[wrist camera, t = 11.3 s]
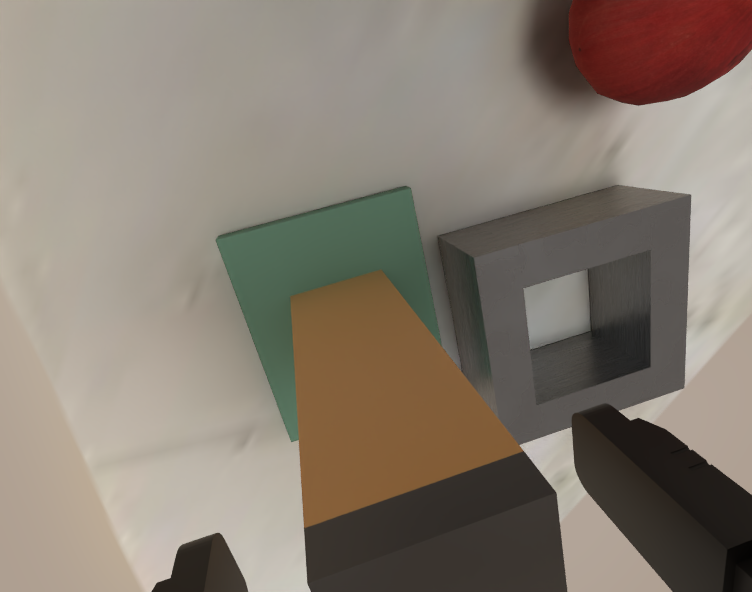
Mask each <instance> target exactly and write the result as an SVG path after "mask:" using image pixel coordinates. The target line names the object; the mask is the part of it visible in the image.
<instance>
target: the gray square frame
mask: <svg viewBox="0 0 752 592" xmlns="http://www.w3.org/2000/svg"><path fill="white" fill-rule="evenodd" d="M690 214H691V195H690V194H683V193H675V192H667V191H659V190H652V189H644V188H636V187H628V186H621V185H617V186H613V187H610V188H606V189H603V190H599V191H596V192H592V193H588V194H585V195H581V196H578V197H574V198H571V199H567V200H564V201H560V202H557V203H553V204H550V205H546V206H542V207H539V208H535V209H532V210H528V211H525V212H521V213H518V214H514V215H511V216H507V217H503V218H500V219H496V220H493V221H489V222H486V223H482V224H479V225H475V226H472V227H468V228H465V229H461V230H457V231H454V232H450V233H447V234H443V235H440V236H438V240H439V245H440V251H441V256H442V262H443V267H444V273H445V278H446V284H447V289H448V295H449V300H450V306H451V311H452V317H453V322H454V328H455V333H456V339H457V344H458V350H459V355H460V361H461V366H462V372H463V374H464V376H465V377H466V378H467V379H468V381H469V382H470V383H471V385H472V386H473V387H474V388H475V390H476V391H477V392H478V394H479V395H480V396H481V397H482V399H483V400H484V401H485V402H486V404H487V405H488V406H489V408H490V409H491V410H492V411H493V413H494V414H495V415H496V416H497V418H498V419H499V420H500V422H501V423H502V424H503V425H504V427H505V428H506V429H507V430H508V432H509V433H510V434H511V436H512V437H513V438H514V439H515V441H516V442H517V443H518V445H520V444H523V443H526V442H529V441H532V440H535V439H538V438H540V437H543V436H546V435H549V434H552V433H555V432H558V431H561V430H564V429H567V428H570V427H572V415H573V414H574V413H577V412H580V411H583V410H586V409H589V408H592V407H594V406H597V405H600V404H603V403H607V404H609V405H611V406H613V407H614V408H615V409H617V410H618V411H619V410H622V409H625V408H628V407H631V406H634V405H636V404H639V403H642V402H645V401H648V400H651V399H654V398H657V397H660V396H663V395H666V394H668V393H671V392H674V391H677V390H680V389H683V388H684V384H685V355H686V327H687V299H688V270H689V242H690ZM585 269H588V273H589V291H590V310H591V329H592V331H591V332H587V333H584V334H581V335H578V336H575V337H572V338H569V339H566V340H562V341H559V342H556V343H553V344H550V345H547V346H544V347H541V348H537V349H534V350H531V351H530V344H529V336H528V327H527V318H526V309H525V300H524V291H523V288H526V287H529V286H532V285H535V284H539V283H542V282H545V281H549V280H552V279H555V278H559V277H562V276H565V275H568V274H572V273H575V272H578V271H582V270H585Z"/></svg>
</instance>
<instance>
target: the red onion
mask: <svg viewBox="0 0 752 592" xmlns="http://www.w3.org/2000/svg"><path fill="white" fill-rule="evenodd" d="M569 43H570V47H571V50H572V54H573V57H574V61H575V64H576V67H577V68H578V69H579V71H580V72H581V73H582V75H583V76H584V77H585V78H586V80H587V81H588V82H589V84H590V85H591V86H592V87H593V89H594V90H595V91H596V92H597V94H600V95H603V96H605V97H608V98H611V99H614V100H616V101H619V102H622V103H627V104H633V105H645V104H651V103H657V102H663V101H669V100H673V99H677V98H681V97H685V96H687V95H689V94H691V93H693V92H695V91H697V90H699V89H701V88H703V87H705V86H706V85H708V84H710V83H711V82H713V81H715V80H716V79H718V78H720V77H721V76H723V75H725V74H726V73H728V72H729V71H730V70H731V69H733V68H734V67H735V66H736V65H738V64H739V63H740V62H741V61H742V60H743V59H744V58H745V56H746V55H747V54H748V53H749V52H750V51H751V50H752V0H573V1H572V4H571V7H570V10H569Z"/></svg>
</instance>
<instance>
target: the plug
mask: <svg viewBox="0 0 752 592" xmlns="http://www.w3.org/2000/svg"><path fill="white" fill-rule="evenodd" d="M290 301H291V318H292V334H293V351H294V367H295V384H296V401H297V417H298V434H299V450H300V467H301V484H302V500H303V517H304V533H305V550H306V567H307V583H308V586H309V588H310V590H311V592H567V585H566V576H565V568H564V558H563V549H562V540H561V531H560V522H559V513H558V504H557V494H556V492H555V490H554V489H553V488H552V487H551V485H550V484H549V483H548V481H547V480H546V479H545V478H544V476H543V475H542V474H541V473H540V471H539V470H538V469H537V467H536V466H535V465H534V464H533V462H532V461H531V460H530V459H529V457H528V456H527V455H526V453H525V452H524V451H523V450H522V448H521V447H520V446H519V445H518V443H517V442H516V441H515V439H514V438H513V437H512V436H511V434H510V433H509V432H508V430H507V429H506V428H505V427H504V425H503V424H502V423H501V422H500V420H499V419H498V418H497V416H496V415H495V414H494V413H493V411H492V410H491V409H490V408H489V406H488V405H487V404H486V402H485V401H484V400H483V399H482V397H481V396H480V395H479V394H478V392H477V391H476V390H475V388H474V387H473V386H472V385H471V383H470V382H469V381H468V379H467V378H466V377H465V376H464V374H463V373H462V372H461V371H460V369H459V368H458V367H457V365H456V364H455V363H454V362H453V360H452V359H451V358H450V357H449V355H448V354H447V353H446V351H445V350H444V349H443V348H442V346H441V345H440V344H439V342H438V341H437V340H436V339H435V337H434V336H433V335H432V334H431V332H430V331H429V330H428V328H427V327H426V326H425V325H424V323H423V322H422V321H421V320H420V318H419V317H418V316H417V314H416V313H415V312H414V311H413V309H412V308H411V307H410V306H409V304H408V303H407V302H406V300H405V299H404V298H403V297H402V295H401V294H400V293H399V291H398V290H397V289H396V288H395V286H394V285H393V284H392V283H391V281H390V280H389V279H388V277H387V276H386V275H385V274H384V272H383V271H382V270H378V271H374V272H371V273H367V274H364V275H361V276H357V277H354V278H350V279H347V280H344V281H340V282H337V283H333V284H330V285H327V286H323V287H320V288H316V289H313V290H310V291H306V292H303V293H299V294H296V295H293V296H290Z"/></svg>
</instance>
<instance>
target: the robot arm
mask: <svg viewBox="0 0 752 592" xmlns="http://www.w3.org/2000/svg"><path fill="white" fill-rule="evenodd" d="M572 436H573V450H574V464H575V469H576V472H577V475H578V477H579V479H580V481H581V483H582V485H583V487H584V488H585V490H586V491H587V492H588V494H589V495H590V496H591V497H592V498H593V500H594V501H595V502H596V503H597V504H598V505H599V506H600V508H601V509H602V510H603V511H604V512H605V513H606V515H607V516H608V517H609V518H610V519H611V520H612V521H613V523H614V524H615V525H616V526H617V527H618V529H619V530H620V531H621V532H622V533H623V534H624V535H625V537H626V538H627V539H628V540H629V541H630V543H631V544H632V545H633V546H634V547H635V548H636V549H637V551H638V552H639V553H640V554H641V555H642V556H643V558H644V559H645V560H646V561H647V562H648V563H649V565H650V566H651V567H652V568H653V569H654V570H655V572H656V573H657V574H658V575H659V576H660V577H661V578H662V580H663V581H664V582H665V583H666V584H667V585H668V587H669V588H670V589H671V590H672V591H673V592H752V495H751V494H750V493H748V492H747V491H746V490H744V489H743V488H742V487H740V486H739V485H738V484H737V483H735V482H734V481H733V480H731V479H730V478H729V477H727V476H726V475H725V474H723V473H722V472H721V471H720V470H718V469H717V468H716V467H714V466H713V465H709V464H708V463H707V461H706V460H705V459H704V458H702V457H701V456H700V455H699V454H697V453H696V452H695V451H693V450H689V448H688V446H687V445H685V444H684V443H683V442H681V441H680V440H679V439H678V438H676V437H675V436H674V435H672V434H671V433H670V432H668V431H667V430H666V429H664V428H661V427H659V426H656V425H654V424H652V423H649V422H647V421H645V420H642V419H640V418H637V419H634V420H631V421H630V420H629V419H628V418H626V417H625V416H624V415H623V414H621V413H620V412H619V411H618V410H617V409H615V408H614V407H613V406H611V405H609V404H607V403H603V404H600V405H597V406H594V407H592V408H589V409H586V410H583V411H580V412H577V413H574V414H573V415H572ZM152 592H248V589H247V585H246V582H245V579H244V577H243V575H242V573H241V571H240V569H239V567H238V565H237V563H236V561H235V559H234V557H233V555H232V553H231V551H230V549H229V547H228V545H227V543H226V541H225V539H224V538H223V536H222V535H221V534H220V533H215V534H212V535H209V536H206V537H203V538H200V539H197V540H194V541H192V542H189V543H186V544H183V545H181V546H180V547H179V549H178V551H177V554H176V558H175V562H174V566H173V571H172V575H171V578H170V579H167V580H164V581H161V582H158V583H157V584H156V585H155V587H154V589H153V590H152Z"/></svg>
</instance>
